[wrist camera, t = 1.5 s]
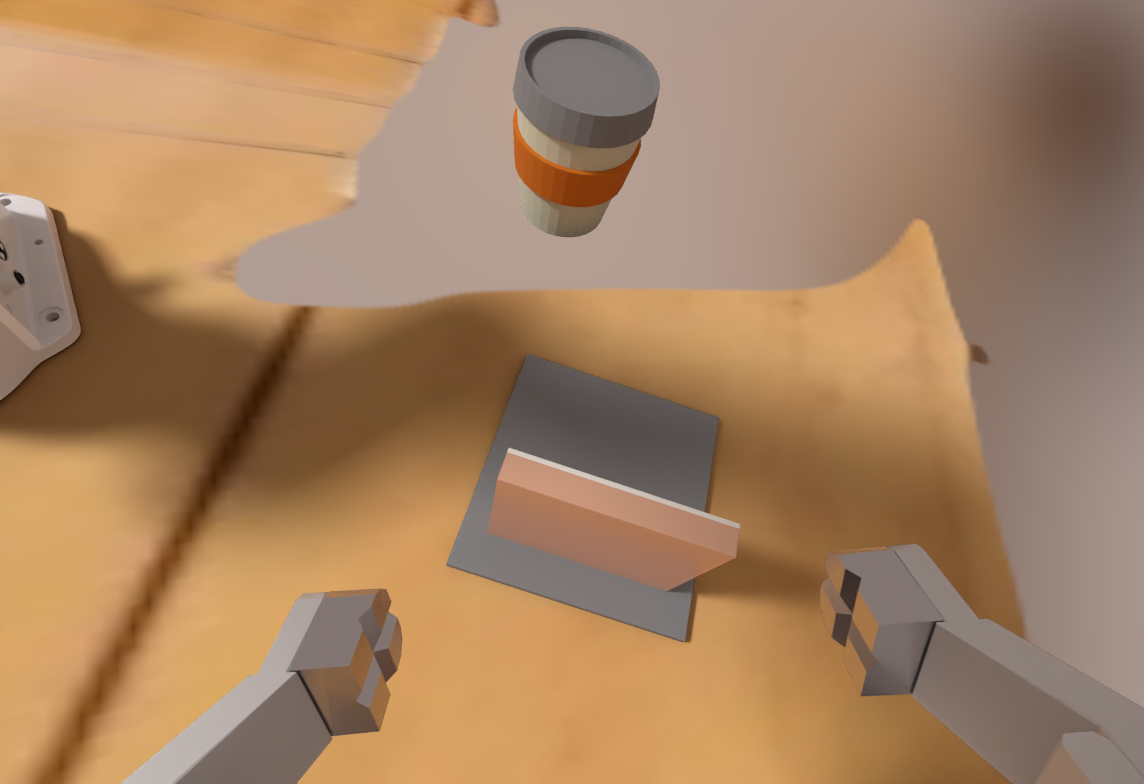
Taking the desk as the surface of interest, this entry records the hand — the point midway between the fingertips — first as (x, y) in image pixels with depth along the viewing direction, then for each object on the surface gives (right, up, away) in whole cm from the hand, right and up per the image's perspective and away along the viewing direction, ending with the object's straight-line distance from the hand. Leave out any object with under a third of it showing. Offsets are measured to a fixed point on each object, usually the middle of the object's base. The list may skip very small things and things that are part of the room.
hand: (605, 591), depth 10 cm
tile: (0, -8, +31) cm, 32 cm away
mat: (+1, -4, +35) cm, 35 cm away
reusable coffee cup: (-2, +24, +49) cm, 54 cm away
